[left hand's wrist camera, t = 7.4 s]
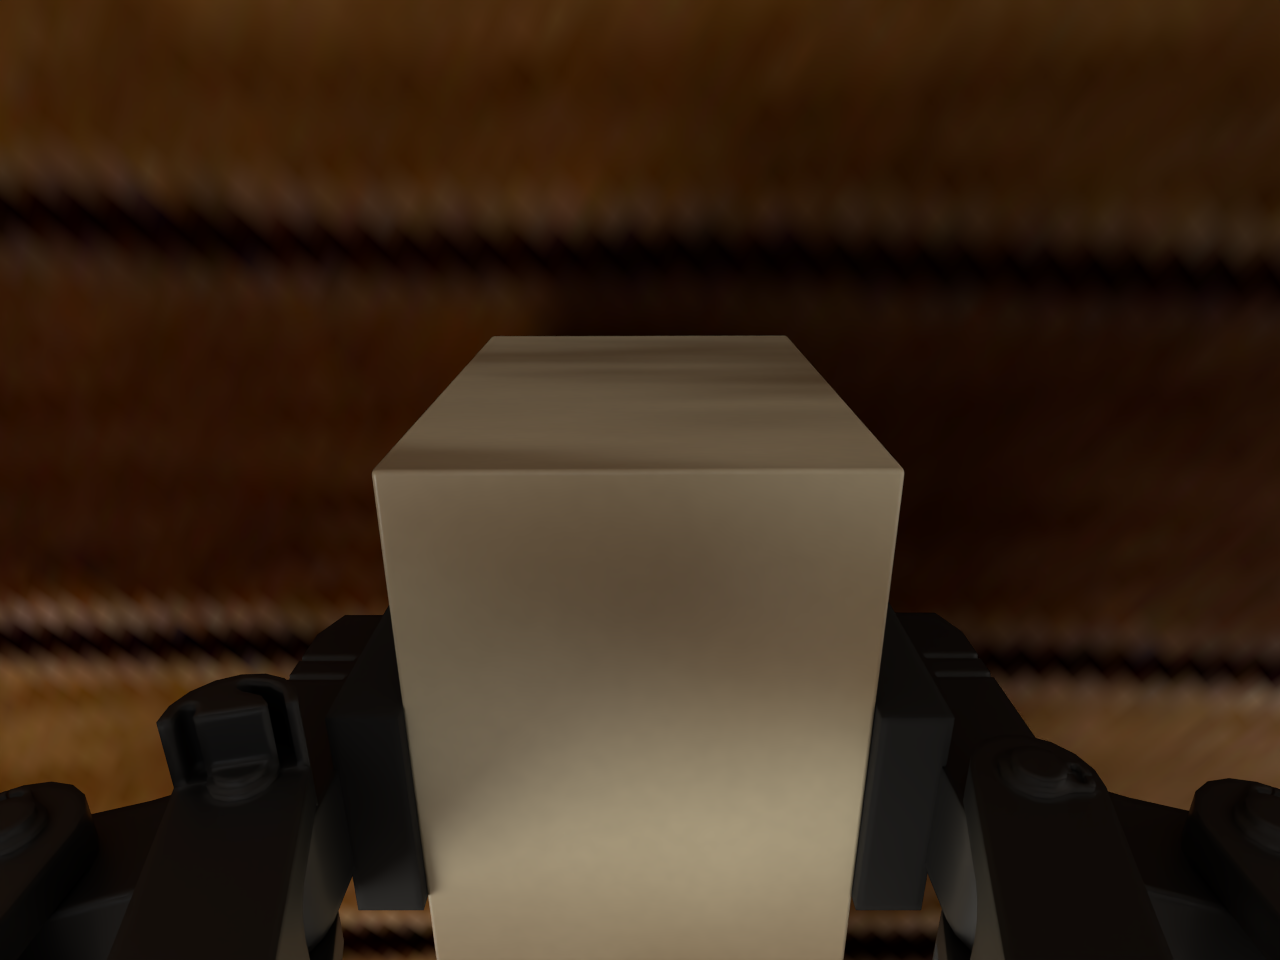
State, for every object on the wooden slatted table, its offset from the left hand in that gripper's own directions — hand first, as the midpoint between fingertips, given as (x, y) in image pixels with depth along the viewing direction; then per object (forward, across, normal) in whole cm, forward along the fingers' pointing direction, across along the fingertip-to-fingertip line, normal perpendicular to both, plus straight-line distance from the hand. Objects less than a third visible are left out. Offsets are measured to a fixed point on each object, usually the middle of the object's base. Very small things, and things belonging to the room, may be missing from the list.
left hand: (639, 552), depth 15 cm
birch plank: (0, 0, +14) cm, 14 cm away
